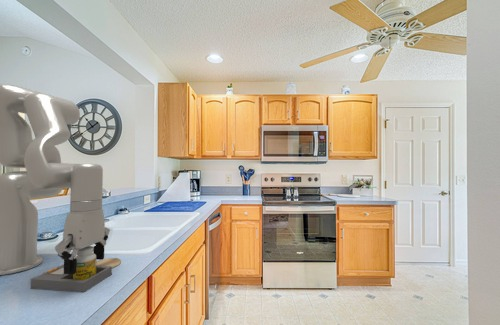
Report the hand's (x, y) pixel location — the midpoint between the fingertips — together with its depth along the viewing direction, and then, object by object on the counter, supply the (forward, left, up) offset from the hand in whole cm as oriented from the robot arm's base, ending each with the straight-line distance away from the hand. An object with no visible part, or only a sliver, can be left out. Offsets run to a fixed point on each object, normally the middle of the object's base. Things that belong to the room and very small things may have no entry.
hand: (85, 265), depth 64 cm
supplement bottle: (0, 0, -5) cm, 5 cm away
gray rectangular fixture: (-4, 0, -5) cm, 6 cm away
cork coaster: (-3, +11, -5) cm, 12 cm away
